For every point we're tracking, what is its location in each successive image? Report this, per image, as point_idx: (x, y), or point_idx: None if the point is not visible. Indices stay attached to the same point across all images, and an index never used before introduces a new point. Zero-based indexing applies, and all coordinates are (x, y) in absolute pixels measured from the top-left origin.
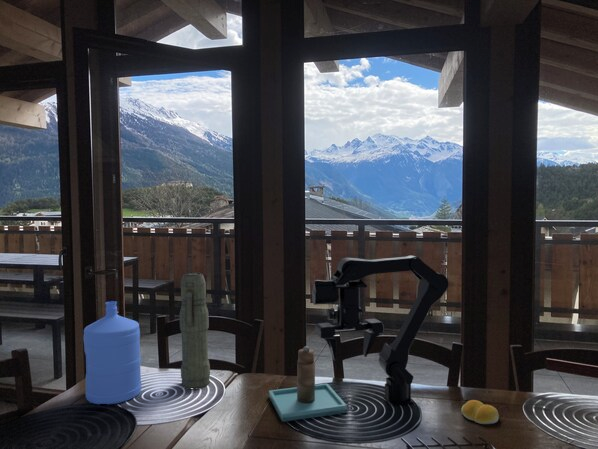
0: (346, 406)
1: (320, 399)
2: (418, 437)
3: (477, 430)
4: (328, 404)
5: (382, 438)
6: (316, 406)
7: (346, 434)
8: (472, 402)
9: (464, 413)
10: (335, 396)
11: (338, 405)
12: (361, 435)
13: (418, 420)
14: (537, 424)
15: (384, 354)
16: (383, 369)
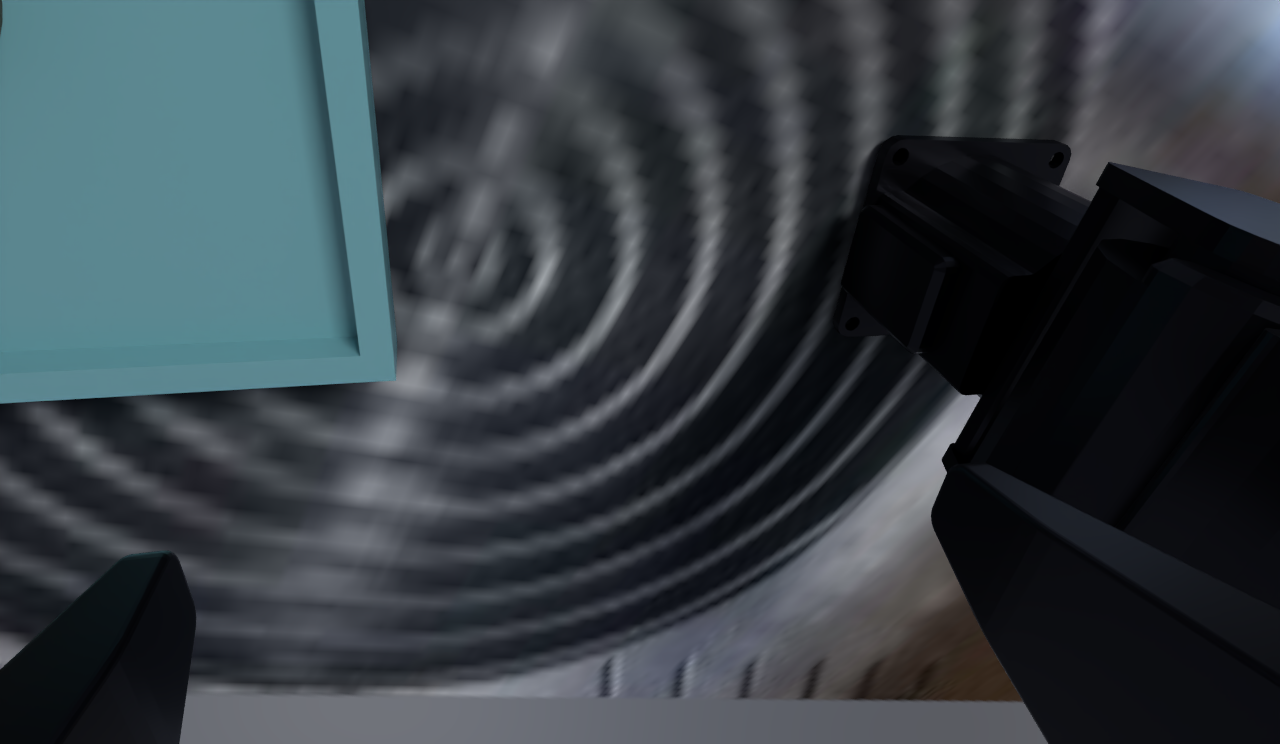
0: (391, 375)
1: (104, 39)
2: (694, 660)
3: (974, 626)
4: (207, 218)
5: (506, 661)
6: (27, 229)
7: (288, 618)
8: None
9: None
10: (330, 115)
11: (302, 366)
12: (391, 632)
13: (822, 524)
14: None
15: (1236, 532)
16: (1015, 417)
